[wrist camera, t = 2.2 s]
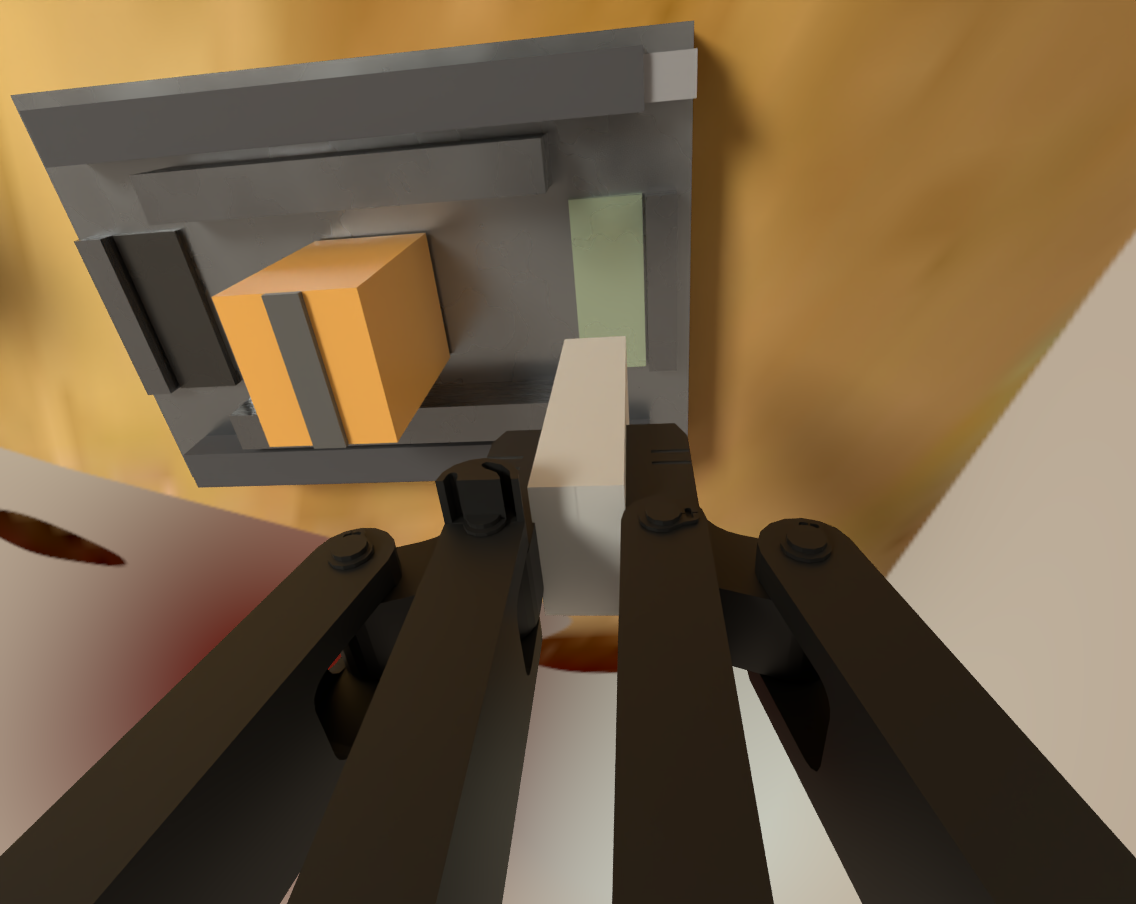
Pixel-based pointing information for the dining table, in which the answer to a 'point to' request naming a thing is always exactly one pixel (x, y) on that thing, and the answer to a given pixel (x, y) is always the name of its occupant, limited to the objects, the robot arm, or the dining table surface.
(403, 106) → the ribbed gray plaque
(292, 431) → the lever
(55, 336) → the dining table surface
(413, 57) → the breaker panel
